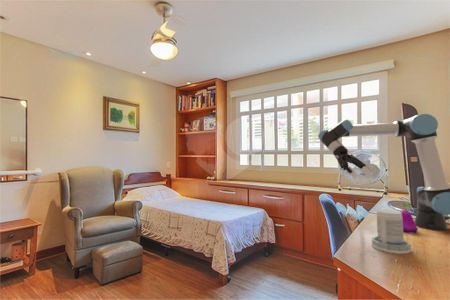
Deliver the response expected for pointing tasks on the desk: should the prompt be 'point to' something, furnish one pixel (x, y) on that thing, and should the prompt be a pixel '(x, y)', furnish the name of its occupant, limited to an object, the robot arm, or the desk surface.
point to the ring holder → (391, 247)
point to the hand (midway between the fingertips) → (364, 176)
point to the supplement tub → (390, 227)
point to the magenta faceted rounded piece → (408, 221)
